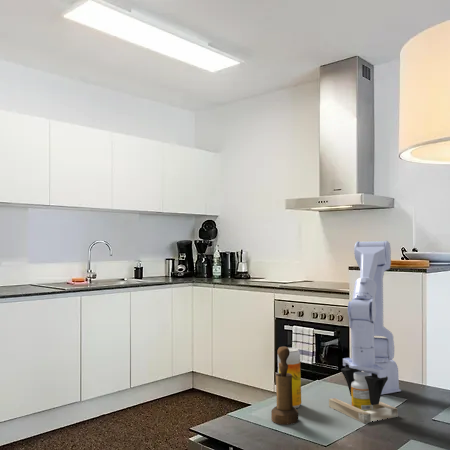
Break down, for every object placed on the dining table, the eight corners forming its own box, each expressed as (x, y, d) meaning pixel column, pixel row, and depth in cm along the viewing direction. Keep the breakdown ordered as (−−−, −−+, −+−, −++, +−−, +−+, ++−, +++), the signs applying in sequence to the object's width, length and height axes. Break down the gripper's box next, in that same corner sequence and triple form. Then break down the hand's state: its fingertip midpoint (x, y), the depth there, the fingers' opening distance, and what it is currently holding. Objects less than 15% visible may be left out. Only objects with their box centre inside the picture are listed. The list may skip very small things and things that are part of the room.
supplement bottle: (358, 406, 130) (357, 369, 131) (377, 411, 126) (376, 373, 127) (347, 411, 126) (346, 373, 127) (367, 416, 123) (366, 377, 123)
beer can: (302, 409, 129) (301, 351, 130) (279, 409, 129) (278, 351, 130) (299, 402, 135) (298, 347, 136) (277, 402, 135) (276, 347, 136)
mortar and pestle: (268, 423, 119) (266, 348, 120) (275, 414, 125) (273, 343, 126) (295, 426, 117) (293, 349, 118) (300, 417, 123) (299, 344, 124)
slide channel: (360, 401, 135) (360, 393, 135) (397, 416, 122) (397, 408, 122) (329, 406, 131) (328, 399, 131) (364, 423, 118) (363, 414, 118)
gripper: (332, 343, 131) (334, 394, 131) (369, 353, 118) (371, 410, 117) (354, 340, 134) (355, 391, 133) (392, 350, 121) (394, 406, 120)
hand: (364, 400), depth 126 cm, fingers open, 7 cm apart
